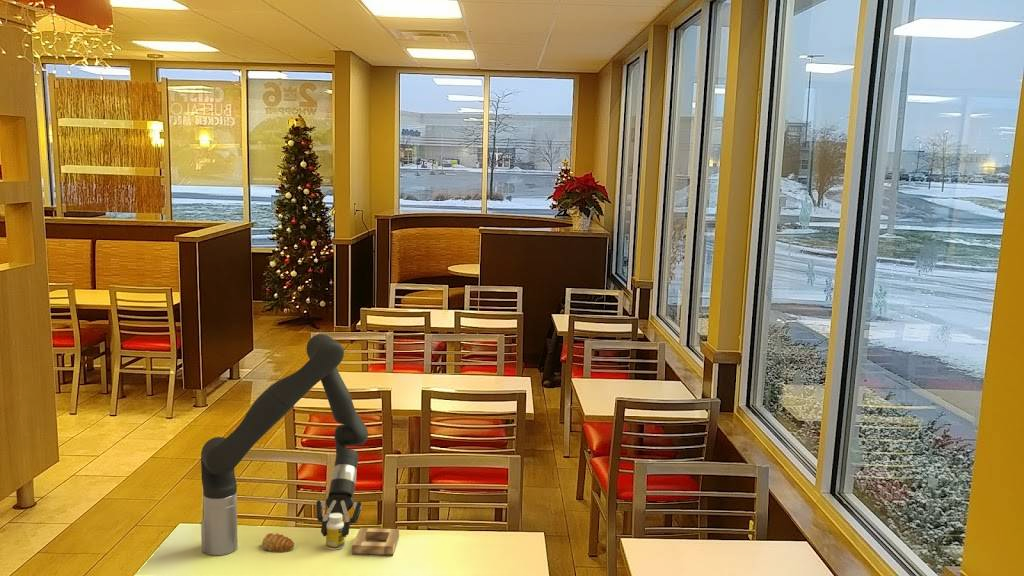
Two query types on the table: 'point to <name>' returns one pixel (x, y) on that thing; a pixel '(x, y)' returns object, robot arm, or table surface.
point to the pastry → (277, 543)
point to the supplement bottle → (335, 532)
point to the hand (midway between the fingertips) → (334, 535)
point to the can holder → (375, 542)
